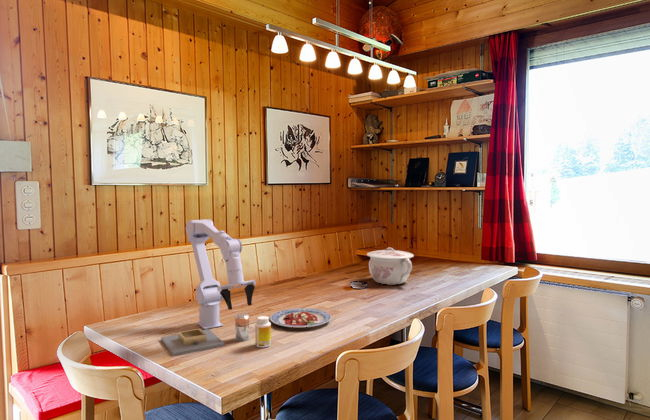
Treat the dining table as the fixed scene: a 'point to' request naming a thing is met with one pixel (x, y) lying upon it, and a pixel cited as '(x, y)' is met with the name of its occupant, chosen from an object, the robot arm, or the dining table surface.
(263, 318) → the supplement bottle
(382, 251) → the chamber pot
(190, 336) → the square hollow frame
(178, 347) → the socket base
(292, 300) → the dining table surface
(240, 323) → the silver tin
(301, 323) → the ceramic plate
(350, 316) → the dining table surface
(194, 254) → the robot arm
